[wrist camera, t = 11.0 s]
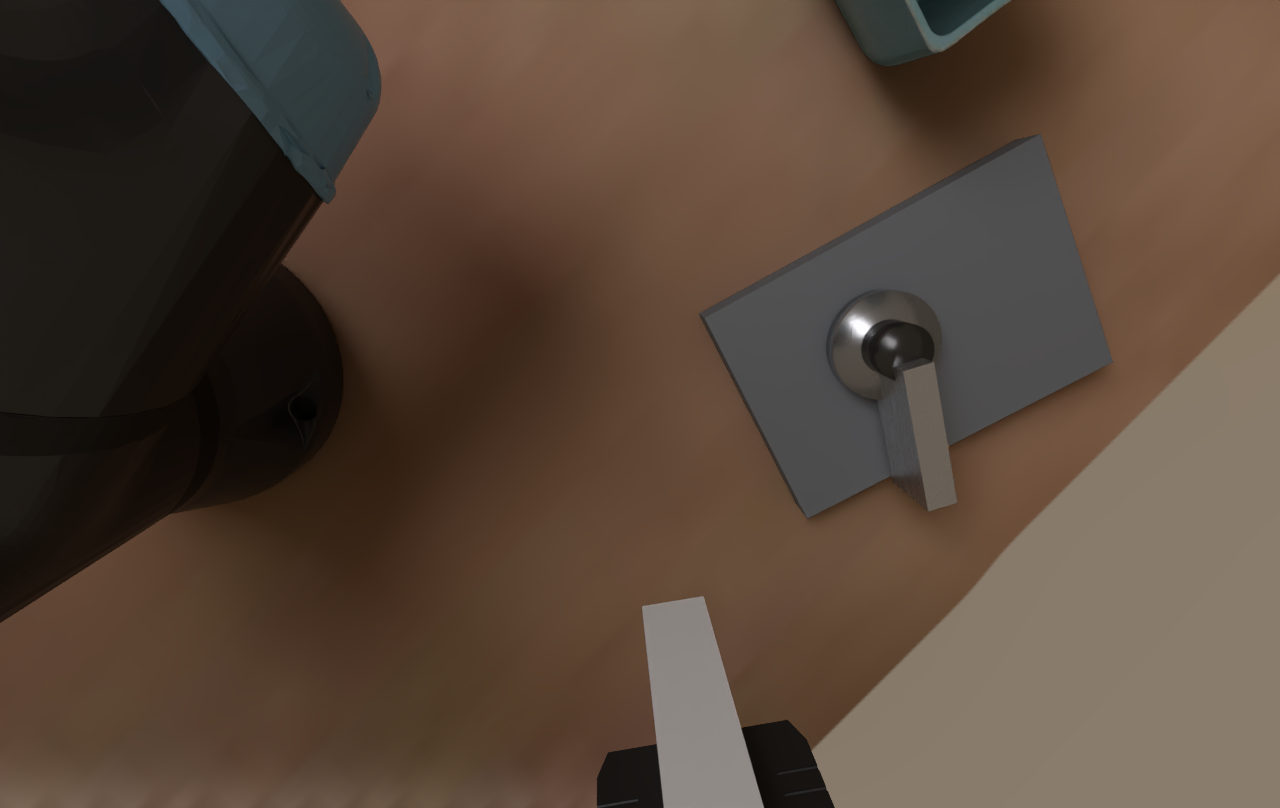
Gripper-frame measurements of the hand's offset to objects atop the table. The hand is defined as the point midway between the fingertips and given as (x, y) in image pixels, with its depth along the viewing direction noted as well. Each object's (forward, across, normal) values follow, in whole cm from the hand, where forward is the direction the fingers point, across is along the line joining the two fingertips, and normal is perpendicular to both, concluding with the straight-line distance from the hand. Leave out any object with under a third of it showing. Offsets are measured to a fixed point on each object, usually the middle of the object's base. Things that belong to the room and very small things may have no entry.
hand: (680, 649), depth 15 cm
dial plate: (+22, +16, +2) cm, 28 cm away
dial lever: (+20, +15, -1) cm, 25 cm away
